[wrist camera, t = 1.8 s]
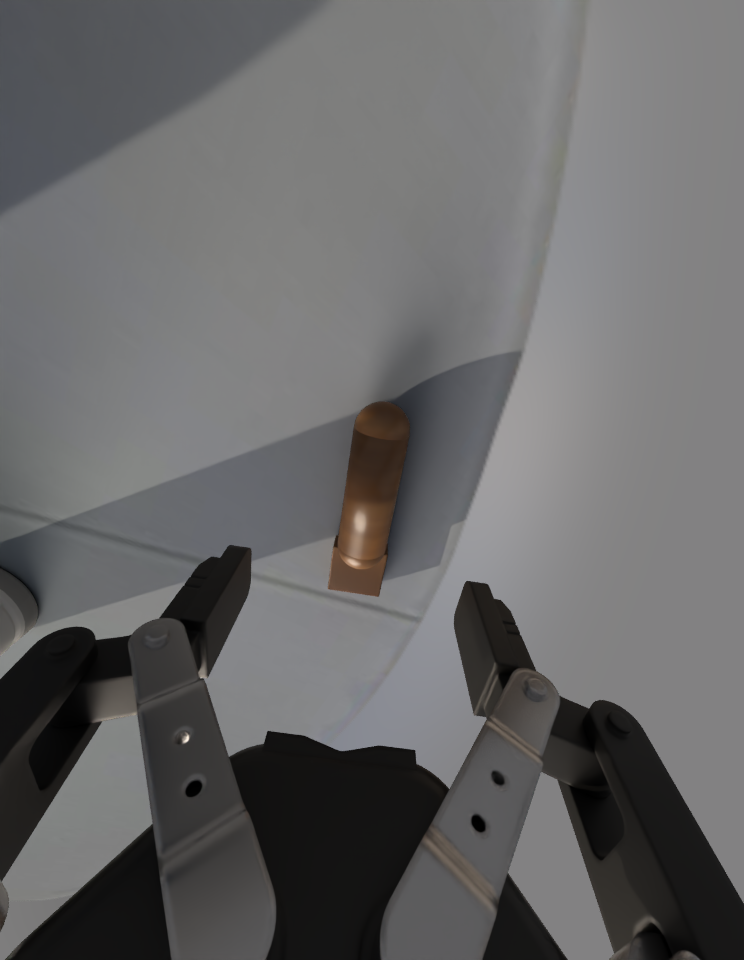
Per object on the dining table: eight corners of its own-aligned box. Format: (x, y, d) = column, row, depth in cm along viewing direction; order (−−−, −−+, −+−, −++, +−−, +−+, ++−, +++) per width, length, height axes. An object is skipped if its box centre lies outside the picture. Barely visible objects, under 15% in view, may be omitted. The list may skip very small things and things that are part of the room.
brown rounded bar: (355, 391, 17) (351, 403, 15) (417, 401, 18) (422, 415, 15) (330, 576, 22) (323, 607, 20) (379, 583, 22) (378, 615, 20)
